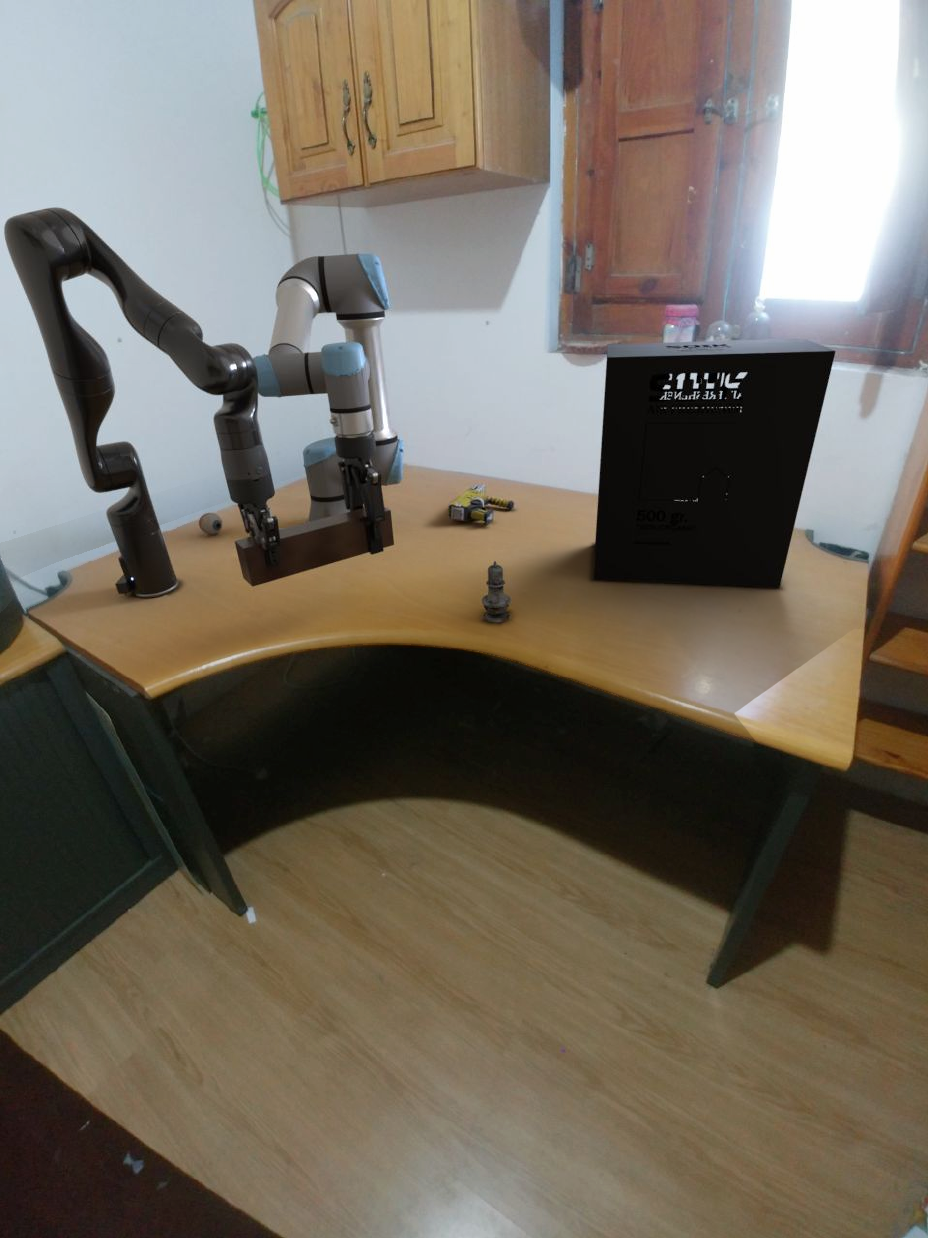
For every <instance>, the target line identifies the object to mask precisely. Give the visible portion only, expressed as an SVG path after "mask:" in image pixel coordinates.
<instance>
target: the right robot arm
mask: <svg viewBox="0 0 928 1238" xmlns="http://www.w3.org/2000/svg"><path fill="white" fill-rule="evenodd" d="M275 304H276V307H277V310H276V316H275V320H274V325H273V329H272V335H271V339H270V344H269V349H268V354H265V353H264V354H262V355H256V356H254V357H252V359H253V361H254V363H255V366H256V369H257V375H258V395H259V396H260V397H264V398H278V399H279V398H284V397H294V396H308V395H324V394H327V399H328V406H329V413H330V418H329V424H331V425H332V431H333V434H335V436H334V437H333V436H332V437H327V438H323V439H319V440H316V441H314V442H312V443H311V442H310V443H309V444H308V445H306V446H305V447H304V448H303V450H302V457H303V459H302V460H303V467H304V471H305V476H306V481H307V486H308V492H309V498H310V507H309V513H308V521H307V522H311V521H315V520H319V519H323V518H327V517H331V516H335V515H339V514H343V513H347V512H351V511H354V510H358V509H362V508H365V512H366V516H367V520H368V522H365V525H366V528H367V534H368V541H369V548H370V552H369V554H370V555H376V554H379V553H383V552H385V551H384V548H383V542H382V534H381V527H380V522H382V521H385V520H386V517H385V509H384V507H385V504H384V503H385V502H384V494H383V486H384V487H387V486H391V485H398V484H400V483H401V482H402V481H403V476H404V475H403V474H404V473H403V472H404V446H405V445H404V442H405V441H404V439H401V438H399V435H398V432H397V430H395V428H392V425H391V417H390V416H391V415H390V406H389V397H388V389H387V380H386V370H385V361H384V352H383V351H384V350H383V343H382V342H383V341H382V335H381V325H382V323H383V322H384V320H385V319H386V313H385V312H386V311H388V310H390V308H391V303H390V299H389V293H388V288H387V283H386V280H385V275H384V270H383V267H382V263H381V260H380V258H379V257H378V256H377V255H376V254H374V253H359V252H357V253H349V254H335V255H334V254H333V255H321V256H320V255H316V256H314V255H313V256H311V257H306V258H304V259H302V260H299V262H297V263H295V264H294V265H293V266H291V267H290V268H289V269H288V270H287V271H286V272H285V273H284V274H283V276H282V277H281V278H280V280H279V281H278V284H277V287H276V291H275ZM333 313H334V314H335V318H336V322H337V323H338V324H339V325H340V326H341V327H342V328H343V331H344V338H345V342H344V341H343V342H333V343H327V344H325V345H323V346H322V347H321V350H320V351H312V352H309V349H310V342H311V336H312V330H313V329H312V327H313V321H314V319H315V318H316V317H317V315H319V314H333Z"/></svg>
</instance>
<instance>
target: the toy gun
mask: <svg viewBox="0 0 928 1238" xmlns="http://www.w3.org/2000/svg"><path fill="white" fill-rule="evenodd" d="M485 490H486V485H485V484H484V483H481V484H480V483H479V482H478V483H475V484H474V485H473V486H472V487H470V488H469V489H467V490H465V492H463V493H462V494H461V495H460V496H458V497H457V498H456V499H455V500H454V501H452V502H451V503H450V504H449V505H448V506H447V507H448V511H447V512H448V513H447V516H448V518H449V519H451V520H452V521H453V522H457V523H458V522H460V521H462V522H467V521H472V520H477V521H482V522H484V523H483V524H484V525H488V524H490V523H492V522H493V521H494V513H495V511H494V509H492V508H490V509H487V508H486V506H488V505H491V506H495V507H499V508H503V509H504V508H505V509H506V510H507V509H508V510H510V511H511V510H513V509H514V507H515V502H514V501H513V500H507V499H504V498H499V497H495V496H491V497H490V498H488V496H487V494H486V492H484V491H485Z"/></svg>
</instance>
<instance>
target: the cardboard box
mask: <svg viewBox="0 0 928 1238" xmlns="http://www.w3.org/2000/svg"><path fill="white" fill-rule="evenodd" d="M835 356H836V350H834V349H831V348H829V347H827V346H824V345H821V344H819V343H816V342H814V341H812V340H810V339H806V338H804V337H799V338H798V337H797V338H796V337H795V338H794V337H793V338H767V339H766V338H765V339H737V340H736V339H735V340H732V339H731V340H707V341H705V340H703V341H675V342H672V341H671V342H670V341H669V342H648V343H647V342H646V343H645V342H644V343H643V342H642V343H639V342H638V343H613V344H612V343H611V344H609V343H607V349H606V363H605V364H606V365H605V367H606V368H605V381H604V396H603V411H602V412H603V413H602V429H601V444H600V445H601V446H600V461H599V477H598V479H599V480H598V494H597V507H596V508H597V509H596V511H597V512H596V523H595V524H596V525H595V538H594V539H595V540H594V559H593V561H594V562H593V579H592V580H595V581H612V582H613V581H616V582H617V581H618V582H636V583H638V582H639V583H660V584H661V583H662V584H680V585H681V584H682V585H683V584H684V585H706V586H726V587H727V586H729V587H748V588H749V587H750V588H751V587H752V588H770V589H771V588H772V589H780V588H781V583H782V579H783V575H784V571H785V567H786V562H787V558H788V554H789V550H790V545H791V542H792V539H793V538H792V537H793V533H794V529H795V524H796V521H797V516H798V512H799V507H800V505H801V504H800V503H801V499H802V495H803V491H804V488H805V487H804V486H805V483H806V478H807V475H808V474H807V473H808V469H809V465H810V461H811V457H812V452H813V450H814V449H813V448H814V444H815V441H816V437H817V431H818V428H819V423H820V420H821V415H822V410H823V407H824V402H825V398H826V393H827V389H828V385H829V381H830V377H831V372H832V368H833V365H834V360H835ZM741 373H746V374H745V375H744V377H741V378H738V376H739V374H741ZM682 374H684V378H683V381H682V385H681V386H682V388H678V385H679V384H678V383H679V379H678V377H679V376H680V375H682ZM692 374H696V378H695V379H694V378H691V376H692ZM706 374H707V378H705V375H706ZM723 375H724V376H723ZM727 377H729V378H728V381H727V382H728V385H729V384H731V385H732V384H738V385H737V387H727V385H726V379H727ZM722 379H723V380H722ZM694 384H696V385H697V384H698V387H695V388H694ZM708 384H713V388H712V387H711V388H710V387H709V388H708ZM666 386H668V387H669V388H665V387H666Z"/></svg>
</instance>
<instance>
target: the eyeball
mask: <svg viewBox="0 0 928 1238" xmlns="http://www.w3.org/2000/svg"><path fill="white" fill-rule="evenodd" d="M198 526H199V528H200V530H201V531H202V532H203V533H204V534H206V535H212V536H214V535H216V534H218V533H220V532H221V531H222V529H223V520H222V518H221V517H220V515H218V514H217V513H214V512H206V513H203V515H201V516H200V517H199V520H198Z"/></svg>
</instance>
